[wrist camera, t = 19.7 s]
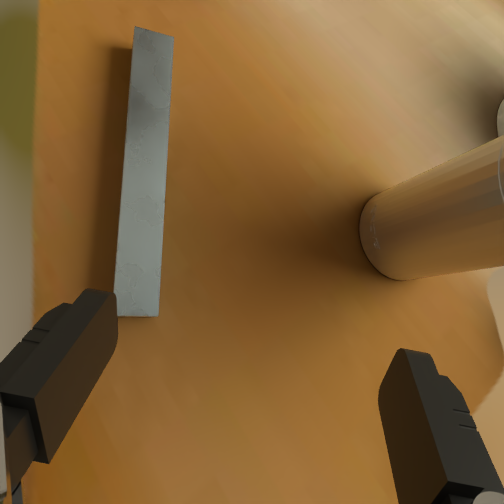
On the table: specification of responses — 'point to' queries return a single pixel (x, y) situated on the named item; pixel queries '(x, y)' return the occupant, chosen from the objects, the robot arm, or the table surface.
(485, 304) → the table surface
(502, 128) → the utensil holder
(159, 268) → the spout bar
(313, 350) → the table surface
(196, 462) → the table surface
